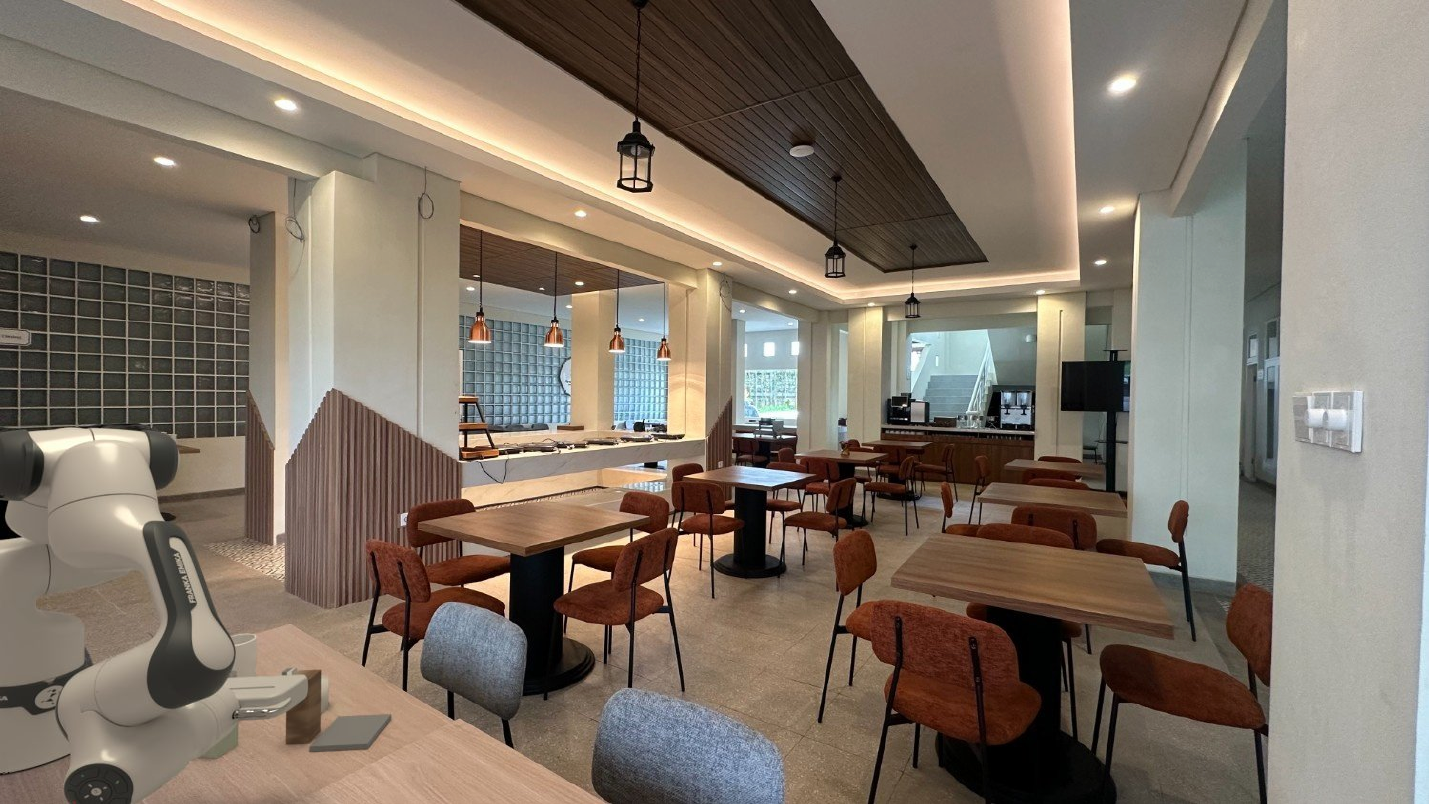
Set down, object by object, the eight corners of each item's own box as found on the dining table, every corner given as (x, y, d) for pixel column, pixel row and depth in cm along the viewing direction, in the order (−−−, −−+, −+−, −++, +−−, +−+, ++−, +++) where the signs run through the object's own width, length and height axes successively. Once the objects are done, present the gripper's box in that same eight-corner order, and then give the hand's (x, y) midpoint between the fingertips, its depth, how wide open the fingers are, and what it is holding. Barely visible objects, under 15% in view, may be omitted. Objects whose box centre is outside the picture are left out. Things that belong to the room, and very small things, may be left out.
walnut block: (285, 744, 108) (286, 680, 108) (298, 732, 112) (299, 670, 112) (308, 743, 108) (309, 679, 108) (320, 731, 112) (321, 669, 112)
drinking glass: (231, 724, 114) (232, 648, 114) (204, 720, 115) (204, 645, 115) (264, 706, 120) (265, 634, 120) (238, 702, 122) (239, 631, 122)
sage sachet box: (187, 755, 104) (187, 728, 104) (209, 742, 108) (210, 716, 108) (216, 759, 103) (217, 731, 103) (238, 745, 107) (238, 718, 107)
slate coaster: (309, 751, 105) (309, 746, 105) (338, 721, 115) (338, 716, 115) (367, 748, 107) (367, 743, 107) (391, 718, 117) (391, 714, 117)
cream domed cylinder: (286, 713, 118) (287, 684, 118) (318, 700, 123) (318, 672, 123) (303, 721, 115) (303, 691, 115) (334, 707, 121) (334, 678, 121)
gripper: (277, 692, 85) (328, 652, 99) (122, 700, 83) (197, 657, 96) (276, 735, 85) (328, 689, 99) (122, 744, 83) (197, 695, 96)
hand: (262, 673), depth 98 cm, fingers open, 8 cm apart
